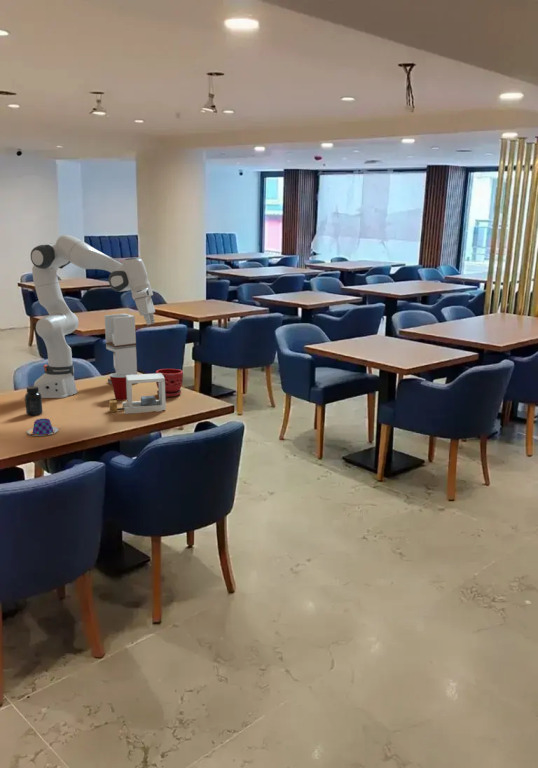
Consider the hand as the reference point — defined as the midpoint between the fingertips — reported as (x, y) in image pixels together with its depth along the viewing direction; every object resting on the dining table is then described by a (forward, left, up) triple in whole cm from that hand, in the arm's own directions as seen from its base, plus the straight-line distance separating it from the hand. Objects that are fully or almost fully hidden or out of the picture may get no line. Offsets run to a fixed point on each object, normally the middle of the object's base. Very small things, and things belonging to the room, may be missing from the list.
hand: (151, 324), depth 304 cm
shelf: (-5, -2, -38) cm, 38 cm away
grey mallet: (-10, -2, -38) cm, 39 cm away
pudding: (-48, -24, -39) cm, 66 cm away
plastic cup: (-13, +19, -38) cm, 45 cm away
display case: (-10, +49, -38) cm, 63 cm away
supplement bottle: (-52, +3, -38) cm, 64 cm away
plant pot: (+10, +20, -38) cm, 45 cm away
